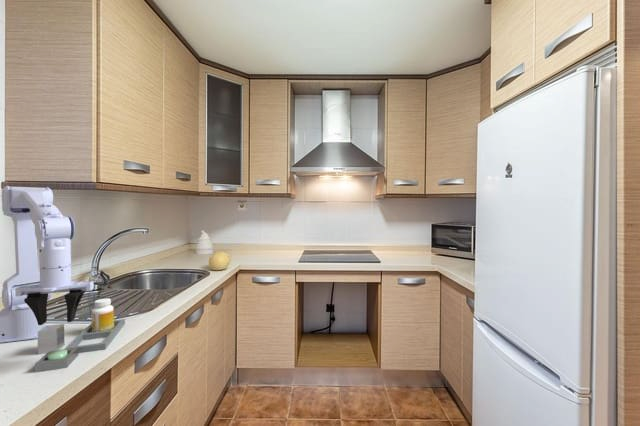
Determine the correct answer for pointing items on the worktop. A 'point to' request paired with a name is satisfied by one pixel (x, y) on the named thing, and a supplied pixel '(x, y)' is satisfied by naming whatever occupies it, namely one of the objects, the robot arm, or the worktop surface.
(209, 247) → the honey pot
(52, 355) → the button
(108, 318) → the supplement bottle
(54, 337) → the block
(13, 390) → the worktop surface
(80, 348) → the pallet frame
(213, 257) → the yellow round fruit
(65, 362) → the grey square tray
